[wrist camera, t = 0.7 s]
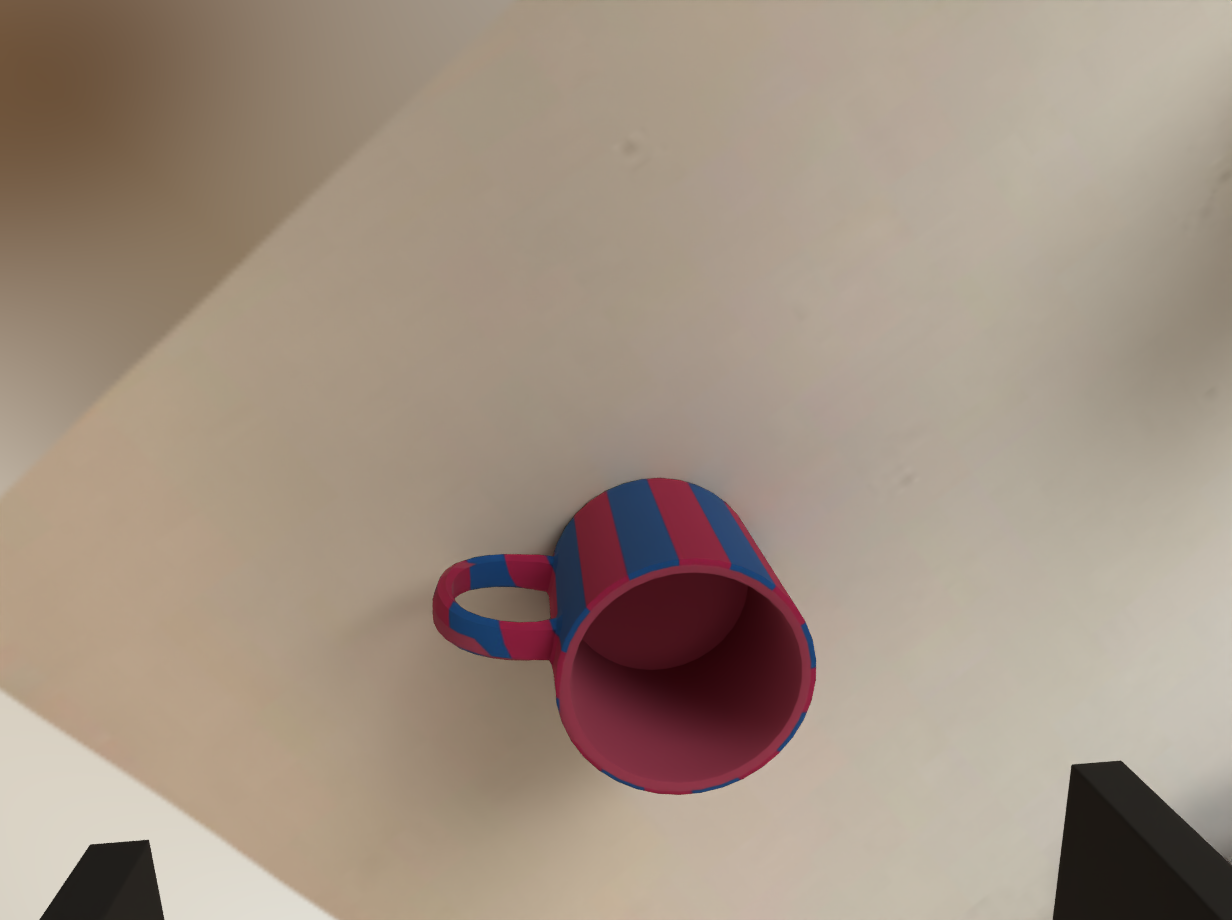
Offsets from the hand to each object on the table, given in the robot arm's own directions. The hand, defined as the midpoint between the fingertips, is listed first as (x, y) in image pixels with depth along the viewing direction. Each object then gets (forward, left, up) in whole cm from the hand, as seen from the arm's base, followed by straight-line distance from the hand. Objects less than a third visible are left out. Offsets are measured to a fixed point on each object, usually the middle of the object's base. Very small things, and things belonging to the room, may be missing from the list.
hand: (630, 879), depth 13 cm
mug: (+2, +1, -17) cm, 17 cm away
